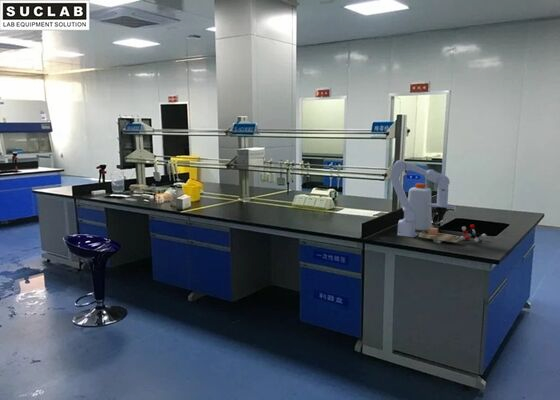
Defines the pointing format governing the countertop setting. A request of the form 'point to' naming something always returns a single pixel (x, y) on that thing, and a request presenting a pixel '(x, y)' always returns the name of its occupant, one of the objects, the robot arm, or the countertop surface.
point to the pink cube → (433, 231)
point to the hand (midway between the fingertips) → (440, 220)
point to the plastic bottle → (421, 206)
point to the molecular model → (471, 234)
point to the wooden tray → (439, 237)
